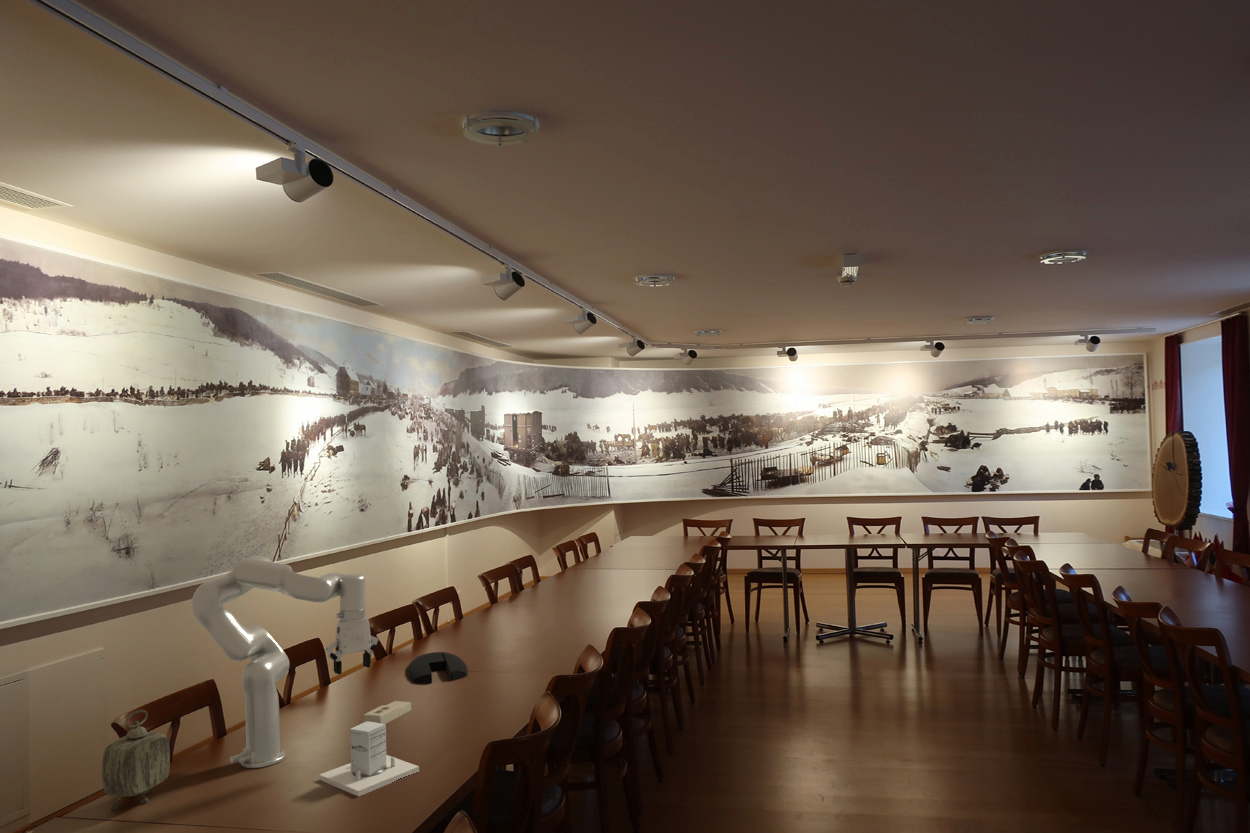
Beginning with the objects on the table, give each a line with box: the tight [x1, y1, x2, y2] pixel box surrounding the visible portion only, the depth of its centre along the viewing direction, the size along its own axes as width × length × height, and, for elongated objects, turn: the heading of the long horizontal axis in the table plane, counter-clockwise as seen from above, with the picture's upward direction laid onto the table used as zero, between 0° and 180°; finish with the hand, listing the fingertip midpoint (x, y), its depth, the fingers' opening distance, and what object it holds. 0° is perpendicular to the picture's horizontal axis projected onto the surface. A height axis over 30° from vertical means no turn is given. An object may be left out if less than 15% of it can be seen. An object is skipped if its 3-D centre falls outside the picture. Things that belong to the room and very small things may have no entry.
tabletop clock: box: [101, 709, 171, 811], centre depth 220 cm, size 14×9×25 cm, turn 163°
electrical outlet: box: [362, 700, 412, 724], centre depth 283 cm, size 7×4×18 cm
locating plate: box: [318, 754, 420, 797], centre depth 232 cm, size 20×20×4 cm
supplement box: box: [349, 721, 387, 776], centre depth 232 cm, size 7×7×13 cm
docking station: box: [406, 651, 469, 684], centre depth 343 cm, size 25×41×5 cm, turn 19°
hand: (352, 670), depth 248 cm, fingers open, 9 cm apart
